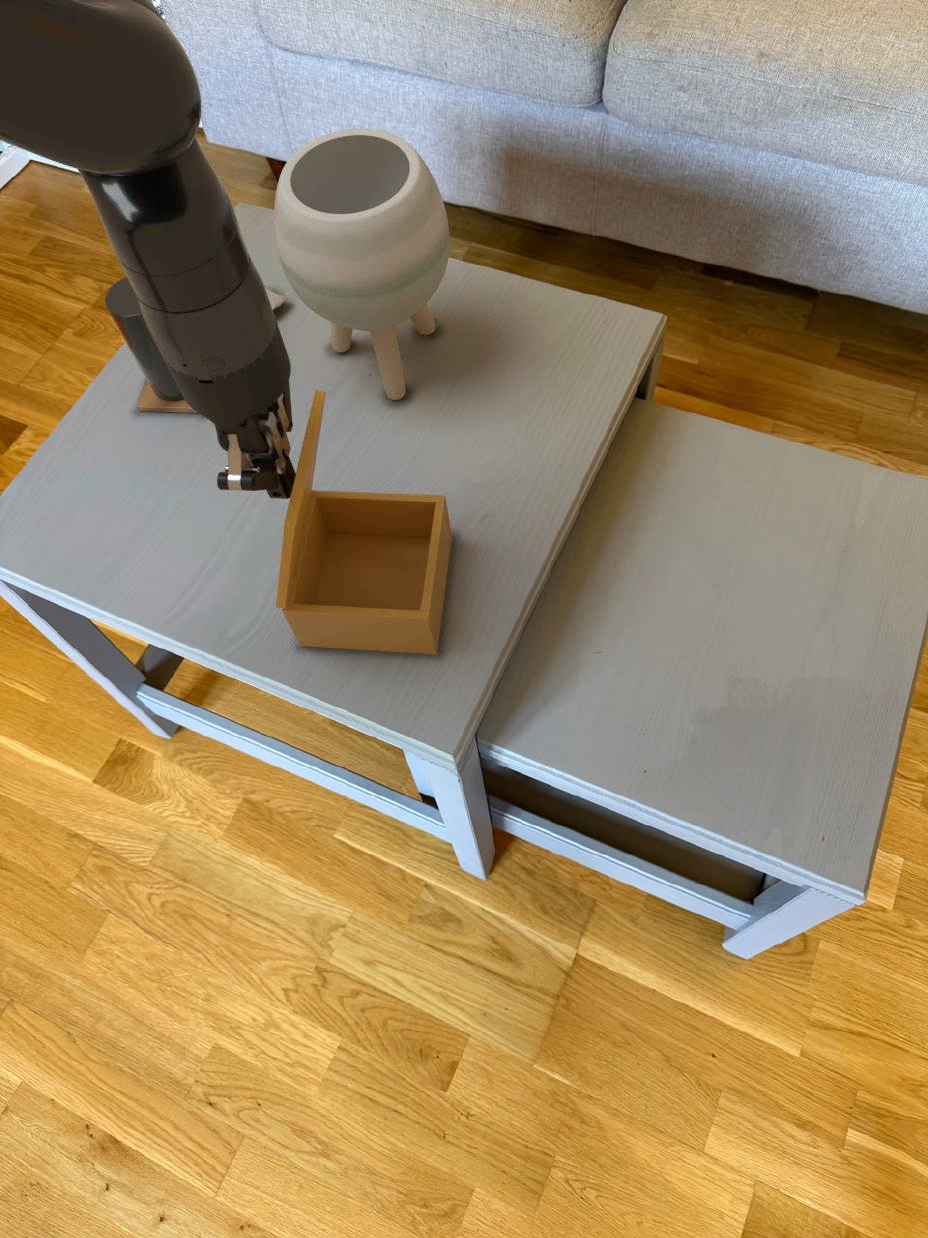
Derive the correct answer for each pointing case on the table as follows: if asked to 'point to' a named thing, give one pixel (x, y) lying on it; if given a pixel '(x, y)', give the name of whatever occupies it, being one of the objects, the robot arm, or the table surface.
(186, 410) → the pad
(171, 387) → the dark grey cylinder
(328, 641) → the chest
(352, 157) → the planter
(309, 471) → the lid
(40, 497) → the table surface
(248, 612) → the table surface
